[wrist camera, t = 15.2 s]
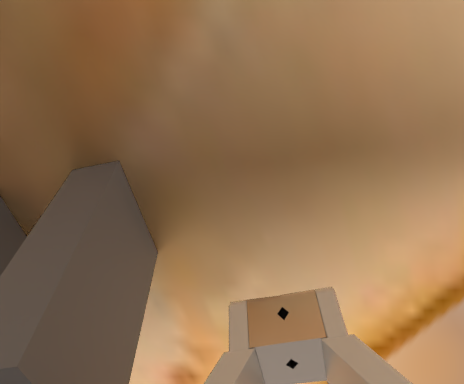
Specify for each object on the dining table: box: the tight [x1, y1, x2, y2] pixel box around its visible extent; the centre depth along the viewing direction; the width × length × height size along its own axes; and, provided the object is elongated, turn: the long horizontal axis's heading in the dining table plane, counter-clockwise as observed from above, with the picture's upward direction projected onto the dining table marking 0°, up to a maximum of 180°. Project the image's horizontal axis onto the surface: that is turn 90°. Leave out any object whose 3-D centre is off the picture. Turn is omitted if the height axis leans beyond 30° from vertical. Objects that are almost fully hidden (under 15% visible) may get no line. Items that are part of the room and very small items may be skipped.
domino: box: [0, 161, 158, 384], centre depth 13 cm, size 2×5×9 cm, turn 12°
